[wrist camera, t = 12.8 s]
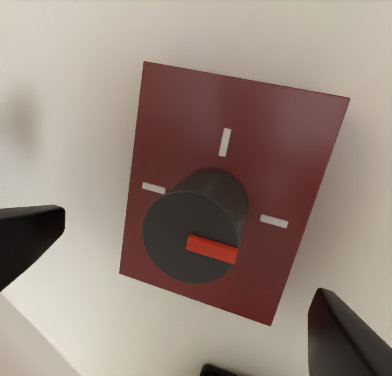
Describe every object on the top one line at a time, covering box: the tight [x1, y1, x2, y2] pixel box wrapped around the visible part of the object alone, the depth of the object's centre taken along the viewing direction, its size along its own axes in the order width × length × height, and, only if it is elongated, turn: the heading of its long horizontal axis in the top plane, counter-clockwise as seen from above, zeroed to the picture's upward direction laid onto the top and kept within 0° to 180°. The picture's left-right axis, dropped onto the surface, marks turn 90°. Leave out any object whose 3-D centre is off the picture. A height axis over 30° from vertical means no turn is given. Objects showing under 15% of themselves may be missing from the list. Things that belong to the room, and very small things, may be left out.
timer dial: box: [142, 168, 248, 284], centre depth 13 cm, size 4×4×5 cm
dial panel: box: [119, 61, 350, 326], centre depth 16 cm, size 13×10×3 cm
